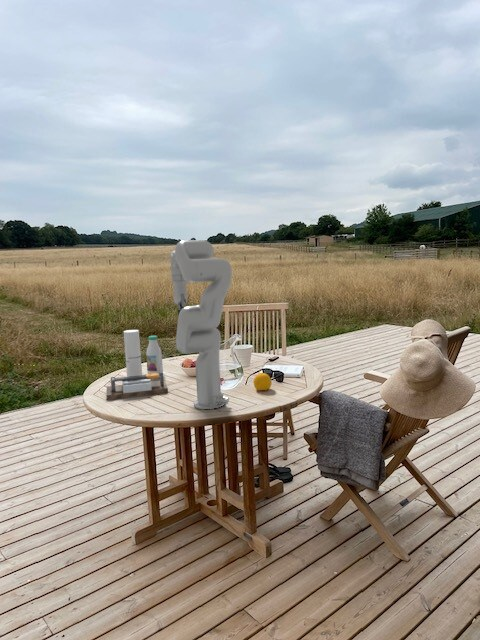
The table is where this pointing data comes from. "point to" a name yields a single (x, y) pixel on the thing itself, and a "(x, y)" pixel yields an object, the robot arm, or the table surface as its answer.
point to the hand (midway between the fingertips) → (182, 318)
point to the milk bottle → (154, 356)
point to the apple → (262, 381)
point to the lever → (137, 377)
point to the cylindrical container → (132, 353)
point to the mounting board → (119, 392)
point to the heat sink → (137, 384)
